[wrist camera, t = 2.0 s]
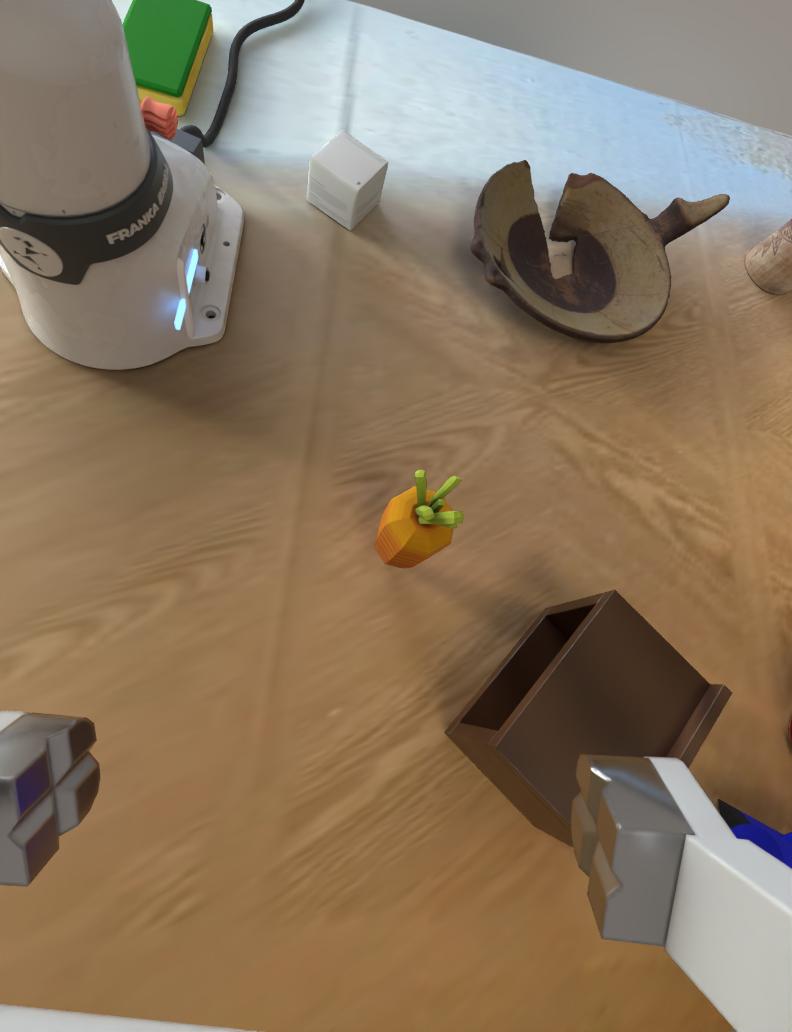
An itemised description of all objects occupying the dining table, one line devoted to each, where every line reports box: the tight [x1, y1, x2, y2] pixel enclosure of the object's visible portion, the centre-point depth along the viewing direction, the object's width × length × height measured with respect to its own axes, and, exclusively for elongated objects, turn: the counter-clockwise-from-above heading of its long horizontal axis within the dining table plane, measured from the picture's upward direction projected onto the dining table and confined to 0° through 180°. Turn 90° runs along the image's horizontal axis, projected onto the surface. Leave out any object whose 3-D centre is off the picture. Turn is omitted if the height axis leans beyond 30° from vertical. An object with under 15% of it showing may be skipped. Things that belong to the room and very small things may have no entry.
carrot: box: [375, 470, 464, 568], centre depth 38 cm, size 5×5×15 cm
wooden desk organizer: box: [445, 590, 732, 848], centre depth 39 cm, size 14×10×11 cm
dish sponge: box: [122, 0, 213, 116], centre depth 54 cm, size 7×14×2 cm, turn 173°
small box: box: [307, 130, 388, 231], centre depth 53 cm, size 6×6×5 cm
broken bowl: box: [470, 160, 730, 343], centre depth 56 cm, size 22×30×8 cm
